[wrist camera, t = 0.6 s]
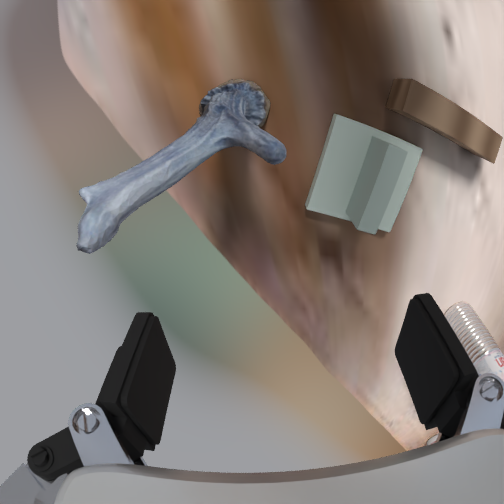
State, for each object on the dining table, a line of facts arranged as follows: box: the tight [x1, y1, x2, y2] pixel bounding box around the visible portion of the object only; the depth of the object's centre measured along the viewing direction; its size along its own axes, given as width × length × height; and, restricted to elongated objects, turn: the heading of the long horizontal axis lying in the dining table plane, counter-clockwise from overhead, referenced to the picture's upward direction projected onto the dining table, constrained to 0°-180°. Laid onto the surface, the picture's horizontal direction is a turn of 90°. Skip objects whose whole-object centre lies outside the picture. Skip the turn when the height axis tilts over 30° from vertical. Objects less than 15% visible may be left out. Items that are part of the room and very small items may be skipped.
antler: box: [77, 79, 286, 254], centre depth 21 cm, size 12×8×25 cm
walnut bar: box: [386, 79, 503, 164], centre depth 28 cm, size 16×4×5 cm, turn 76°
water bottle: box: [444, 302, 504, 382], centre depth 36 cm, size 7×7×25 cm
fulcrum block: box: [305, 114, 423, 234], centre depth 32 cm, size 12×12×6 cm
